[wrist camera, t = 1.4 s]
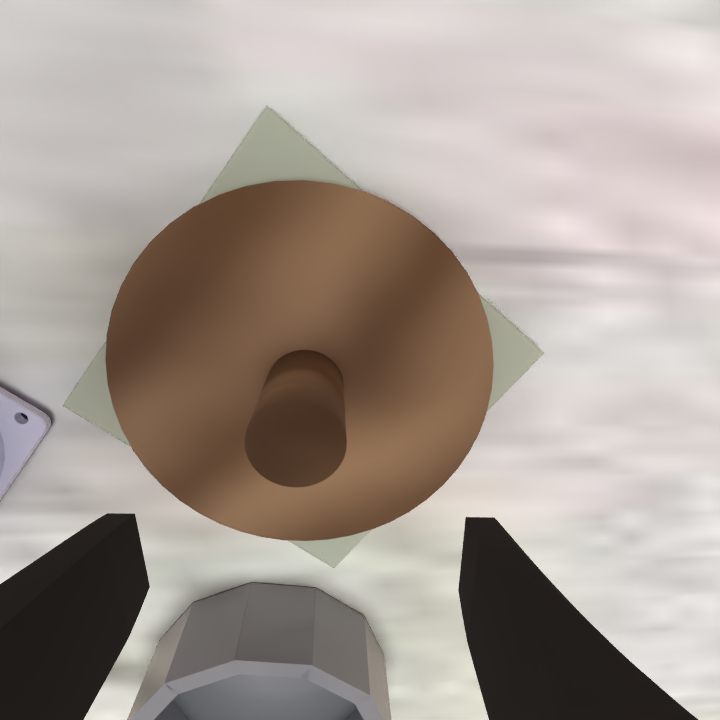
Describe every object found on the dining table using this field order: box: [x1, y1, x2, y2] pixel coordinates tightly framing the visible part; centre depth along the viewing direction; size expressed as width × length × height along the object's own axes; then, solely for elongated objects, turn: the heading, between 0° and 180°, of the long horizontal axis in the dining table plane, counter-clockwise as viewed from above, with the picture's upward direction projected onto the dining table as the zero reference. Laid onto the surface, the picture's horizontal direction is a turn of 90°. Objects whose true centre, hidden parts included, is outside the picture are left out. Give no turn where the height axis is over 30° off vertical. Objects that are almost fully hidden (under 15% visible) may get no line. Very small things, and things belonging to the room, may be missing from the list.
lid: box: [105, 180, 494, 541], centre depth 15 cm, size 15×15×5 cm
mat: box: [63, 106, 544, 568], centre depth 18 cm, size 14×14×1 cm
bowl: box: [127, 583, 391, 720], centre depth 22 cm, size 12×12×4 cm
